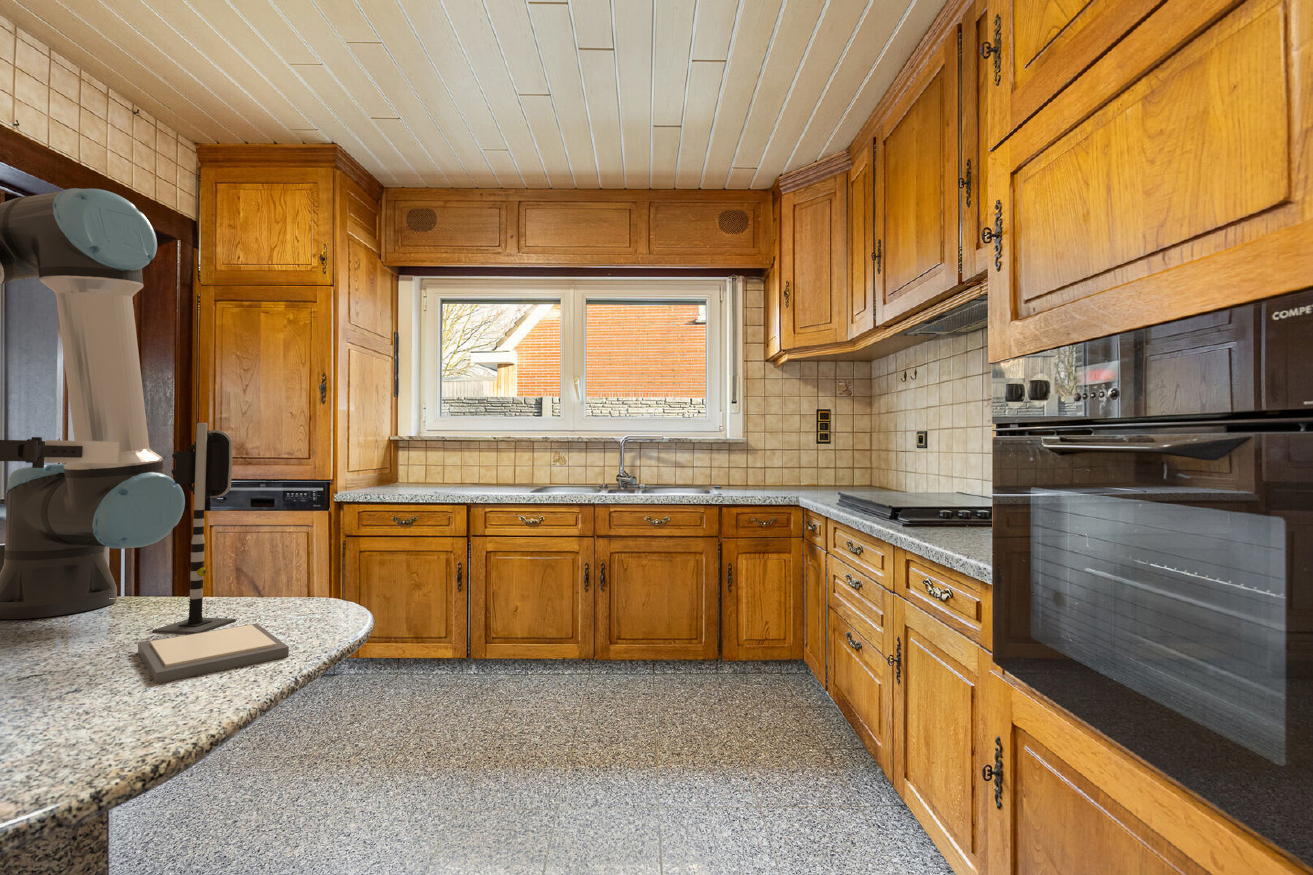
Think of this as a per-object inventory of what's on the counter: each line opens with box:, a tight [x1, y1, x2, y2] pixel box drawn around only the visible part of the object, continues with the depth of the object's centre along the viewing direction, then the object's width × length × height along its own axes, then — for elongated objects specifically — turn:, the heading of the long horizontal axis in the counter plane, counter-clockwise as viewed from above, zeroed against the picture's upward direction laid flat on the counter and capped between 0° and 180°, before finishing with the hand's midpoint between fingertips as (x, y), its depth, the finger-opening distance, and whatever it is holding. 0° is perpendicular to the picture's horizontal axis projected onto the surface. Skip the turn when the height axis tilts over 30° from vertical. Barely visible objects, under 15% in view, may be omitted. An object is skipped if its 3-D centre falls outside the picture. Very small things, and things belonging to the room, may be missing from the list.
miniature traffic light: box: [152, 422, 237, 635], centre depth 90 cm, size 8×8×30 cm
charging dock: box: [137, 622, 290, 685], centre depth 77 cm, size 15×13×2 cm
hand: (112, 452), depth 82 cm, fingers open, 13 cm apart
